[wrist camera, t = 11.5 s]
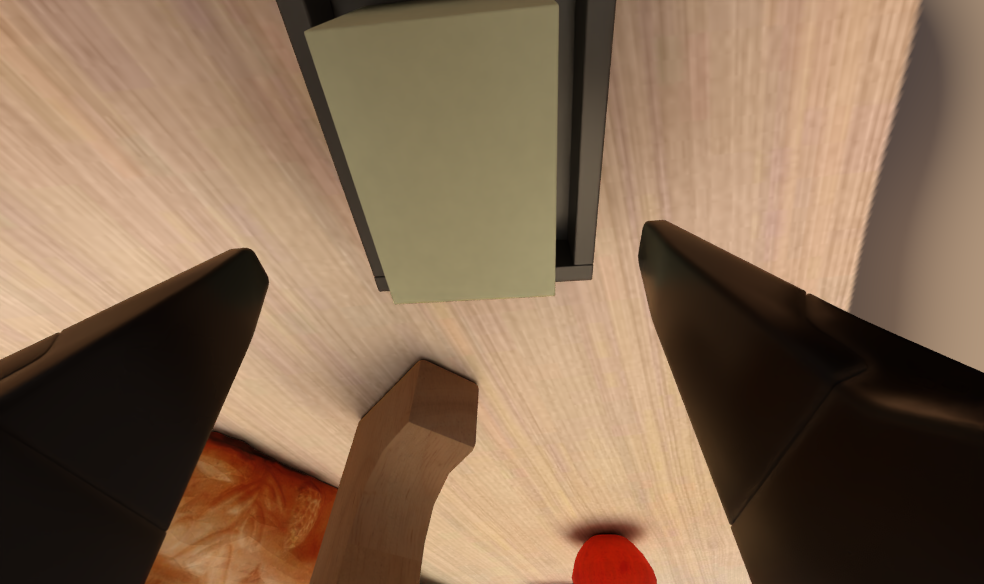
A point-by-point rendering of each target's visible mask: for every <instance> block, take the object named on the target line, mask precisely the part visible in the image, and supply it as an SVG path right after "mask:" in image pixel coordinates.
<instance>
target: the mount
mask: <svg viewBox="0 0 984 584" xmlns="http://www.w3.org/2000/svg"><path fill="white" fill-rule="evenodd" d="M406 1H415V0H276V2H277V4H278V7H279V10H280V13H281V16H282V19H283V21H284V24H285V27H286V30H287V33H288V35H289V38H290V41H291V44H292V47H293V49H294V52H295V55H296V58H297V61H298V64H299V66H300V69H301V72H302V75H303V78H304V80H305V83H306V86H307V89H308V92H309V94H310V97H311V100H312V103H313V106H314V109H315V111H316V114H317V117H318V120H319V123H320V125H321V128H322V131H323V134H324V137H325V140H326V142H327V145H328V148H329V151H330V154H331V156H332V159H333V162H334V165H335V168H336V170H337V173H338V176H339V179H340V182H341V185H342V187H343V190H344V193H345V196H346V199H347V201H348V204H349V207H350V210H351V213H352V215H353V218H354V221H355V224H356V227H357V230H358V232H359V235H360V238H361V241H362V244H363V246H364V249H365V252H366V255H367V258H368V261H369V263H370V266H371V269H372V272H373V275H374V276H375V277H374V279H375V281H376V284H377V287H378V290H379V291H380V292H381V291H390V290H389V287H388V284H387V281H386V278H385V275H384V272H383V269H382V266H381V263H380V260H379V257H378V254H377V251H376V248H375V245H374V242H373V239H372V236H371V233H370V230H369V227H368V224H367V221H366V218H365V215H364V212H363V209H362V206H361V203H360V200H359V197H358V194H357V191H356V188H355V185H354V182H353V179H352V176H351V173H350V170H349V167H348V164H347V161H346V158H345V155H344V152H343V149H342V146H341V143H340V140H339V136H338V133H337V130H336V127H335V124H334V121H333V118H332V115H331V112H330V109H329V106H328V103H327V100H326V97H325V94H324V91H323V88H322V85H321V82H320V79H319V76H318V73H317V70H316V67H315V64H314V61H313V58H312V55H311V52H310V49H309V46H308V43H307V40H306V37H305V34H304V31H306V30H308V29H311V28H313V27H315V26H318V25H320V24H323V23H325V22H328V21H330V20H332V19H335V18H337V17H340V16H342V15H345V14H347V13H349V12H352V11H354V10H357V9H359V8H362V7H364V6H370V5H379V4H388V3H397V2H406ZM555 1H556V2H557V4H558V5H559V44H558V119H557V194H556V269H555V282H562V281H580V280H592V273H593V260H594V249H595V238H596V226H597V215H598V203H599V192H600V180H601V169H602V157H603V146H604V134H605V123H606V112H607V100H608V89H609V77H610V66H611V54H612V43H613V31H614V20H615V8H616V0H555Z"/></svg>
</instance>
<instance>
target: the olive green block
mask: <svg viewBox="0 0 984 584" xmlns="http://www.w3.org/2000/svg"><path fill="white" fill-rule="evenodd" d="M304 34H305V37H306V40H307V43H308V46H309V49H310V52H311V55H312V58H313V61H314V64H315V67H316V70H317V73H318V76H319V79H320V82H321V85H322V88H323V91H324V94H325V97H326V100H327V103H328V106H329V109H330V112H331V115H332V118H333V121H334V124H335V127H336V130H337V133H338V136H339V140H340V143H341V146H342V149H343V152H344V155H345V158H346V161H347V164H348V167H349V170H350V173H351V176H352V179H353V182H354V185H355V188H356V191H357V194H358V197H359V200H360V203H361V206H362V209H363V212H364V215H365V218H366V221H367V224H368V227H369V230H370V233H371V236H372V239H373V242H374V245H375V248H376V251H377V254H378V257H379V260H380V263H381V266H382V269H383V272H384V275H385V278H386V281H387V284H388V287H389V290H390V293H391V296H392V299H393V302H394V304H411V303H430V302H449V301H468V300H487V299H506V298H525V297H545V296H555V269H556V194H557V119H558V44H559V5H558V4H557V2H556V1H555V0H415V1H406V2H397V3H388V4H379V5H370V6H364V7H362V8H359V9H357V10H354V11H352V12H349V13H347V14H345V15H342V16H340V17H337V18H335V19H332V20H330V21H328V22H325V23H323V24H320V25H318V26H315V27H313V28H311V29H308V30H306V31H304Z"/></svg>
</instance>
